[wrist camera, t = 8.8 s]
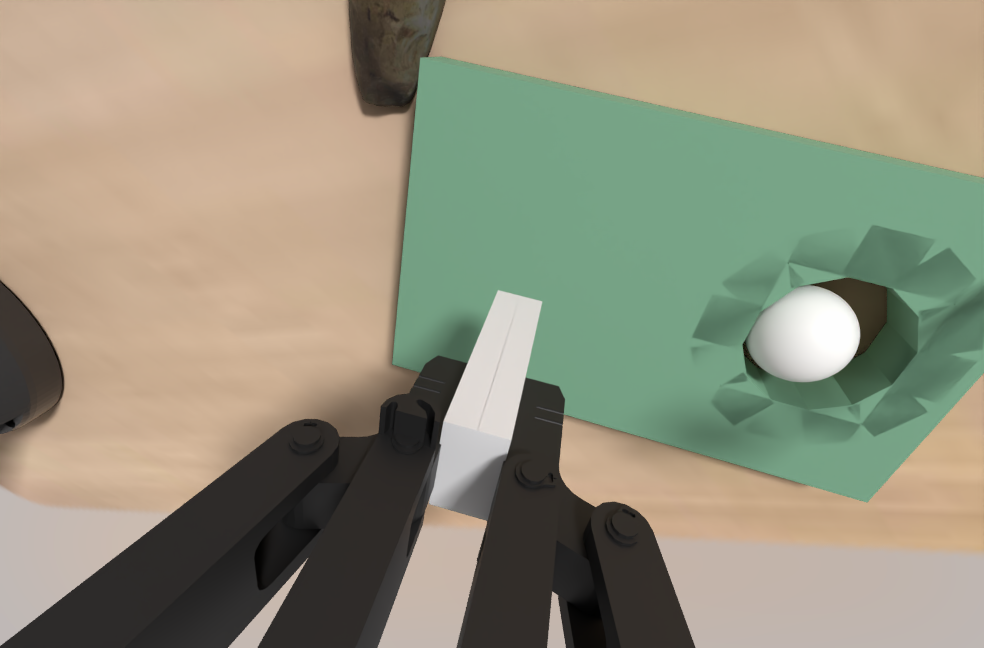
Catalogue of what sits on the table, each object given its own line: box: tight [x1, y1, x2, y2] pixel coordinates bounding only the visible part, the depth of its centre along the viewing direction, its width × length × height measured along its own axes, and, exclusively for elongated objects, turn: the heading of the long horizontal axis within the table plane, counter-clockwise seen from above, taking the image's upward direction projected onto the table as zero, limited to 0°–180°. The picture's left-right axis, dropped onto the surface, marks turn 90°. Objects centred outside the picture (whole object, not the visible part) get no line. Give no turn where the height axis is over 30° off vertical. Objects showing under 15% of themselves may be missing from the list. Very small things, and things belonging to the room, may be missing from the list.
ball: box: [745, 285, 860, 382], centre depth 20 cm, size 4×4×4 cm
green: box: [392, 57, 984, 502], centre depth 15 cm, size 24×14×16 cm, turn 80°
